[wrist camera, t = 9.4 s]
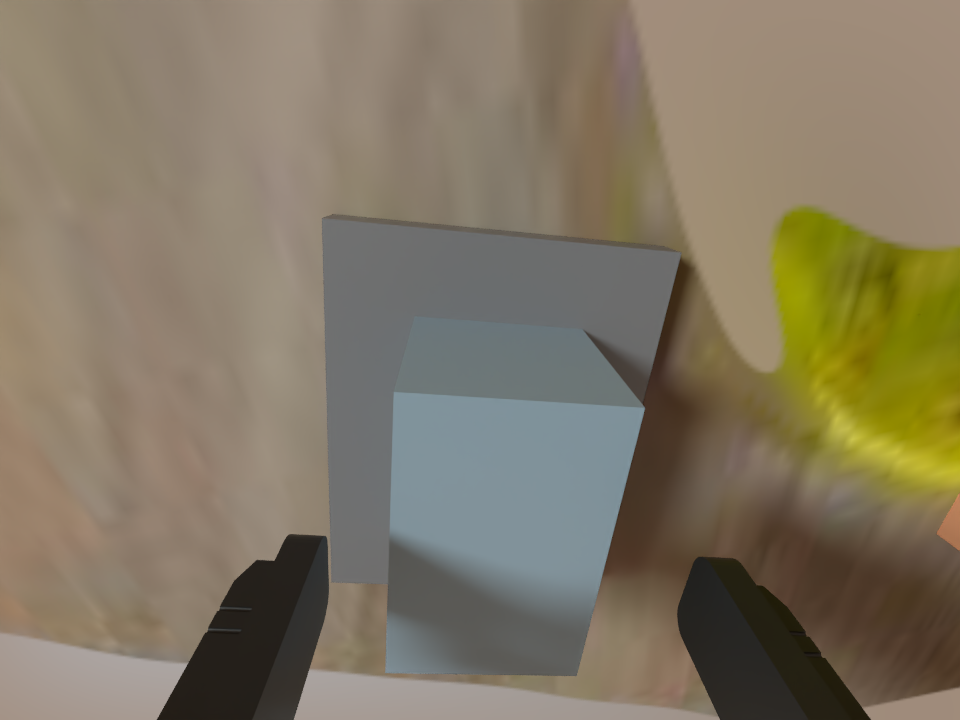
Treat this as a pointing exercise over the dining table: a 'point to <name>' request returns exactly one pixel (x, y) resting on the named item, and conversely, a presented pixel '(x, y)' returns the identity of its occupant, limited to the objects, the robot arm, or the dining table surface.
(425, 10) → the dining table surface
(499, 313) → the baseplate
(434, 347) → the slate brick
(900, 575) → the dining table surface
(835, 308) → the dining table surface
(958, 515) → the terracotta brick
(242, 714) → the robot arm
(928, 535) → the dining table surface
